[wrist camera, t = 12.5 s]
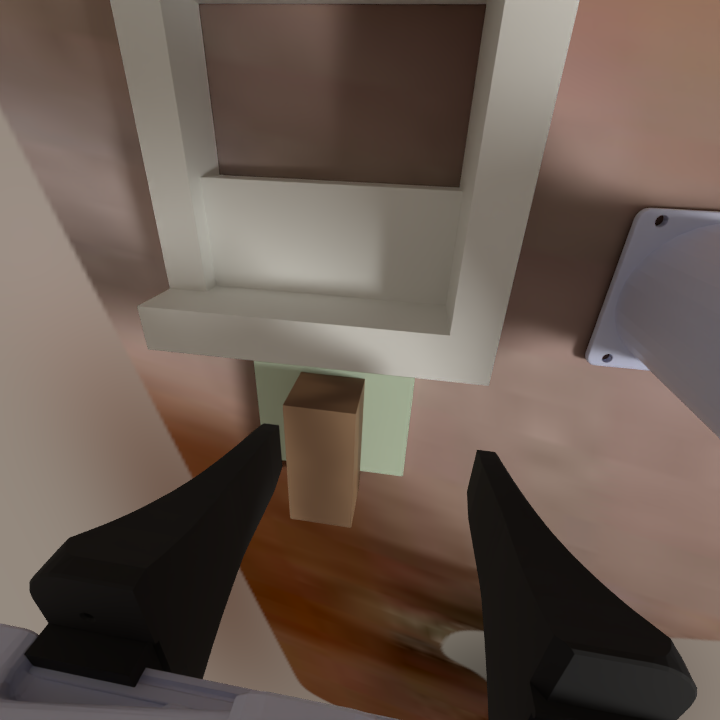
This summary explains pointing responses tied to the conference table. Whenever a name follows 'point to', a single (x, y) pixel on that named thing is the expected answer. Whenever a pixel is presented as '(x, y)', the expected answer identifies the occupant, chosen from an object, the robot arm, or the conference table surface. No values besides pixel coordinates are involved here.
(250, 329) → the frame
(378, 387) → the pad
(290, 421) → the bar
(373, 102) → the conference table surface
